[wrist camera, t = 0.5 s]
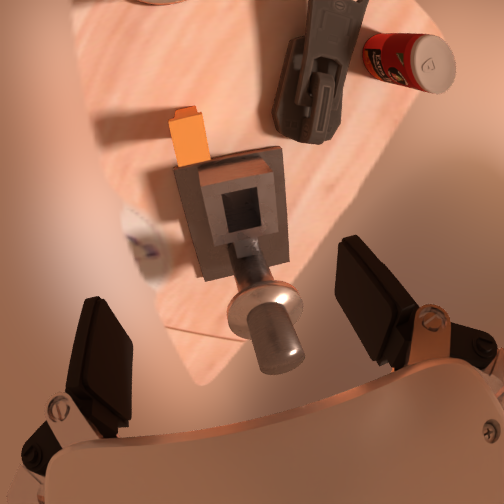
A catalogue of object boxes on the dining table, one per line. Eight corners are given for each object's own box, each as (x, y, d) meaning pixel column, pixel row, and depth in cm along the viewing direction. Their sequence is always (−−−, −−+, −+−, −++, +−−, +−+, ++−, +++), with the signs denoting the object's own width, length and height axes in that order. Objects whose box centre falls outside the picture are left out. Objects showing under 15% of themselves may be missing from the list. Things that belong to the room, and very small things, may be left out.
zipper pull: (380, -24, 18) (352, 157, 32) (351, -16, 23) (328, 142, 37) (310, -50, 16) (284, 150, 30) (289, -35, 21) (268, 136, 35)
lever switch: (173, 167, 35) (169, 275, 18) (279, 146, 36) (365, 229, 20) (204, 276, 46) (224, 395, 30) (287, 257, 48) (340, 363, 31)
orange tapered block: (172, 107, 30) (168, 121, 22) (197, 102, 31) (202, 114, 22) (179, 140, 33) (178, 167, 25) (203, 135, 33) (210, 159, 25)
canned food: (350, 52, 30) (403, 55, 21) (383, 24, 27) (437, 23, 18) (381, 91, 34) (433, 107, 25) (410, 62, 31) (463, 73, 22)
